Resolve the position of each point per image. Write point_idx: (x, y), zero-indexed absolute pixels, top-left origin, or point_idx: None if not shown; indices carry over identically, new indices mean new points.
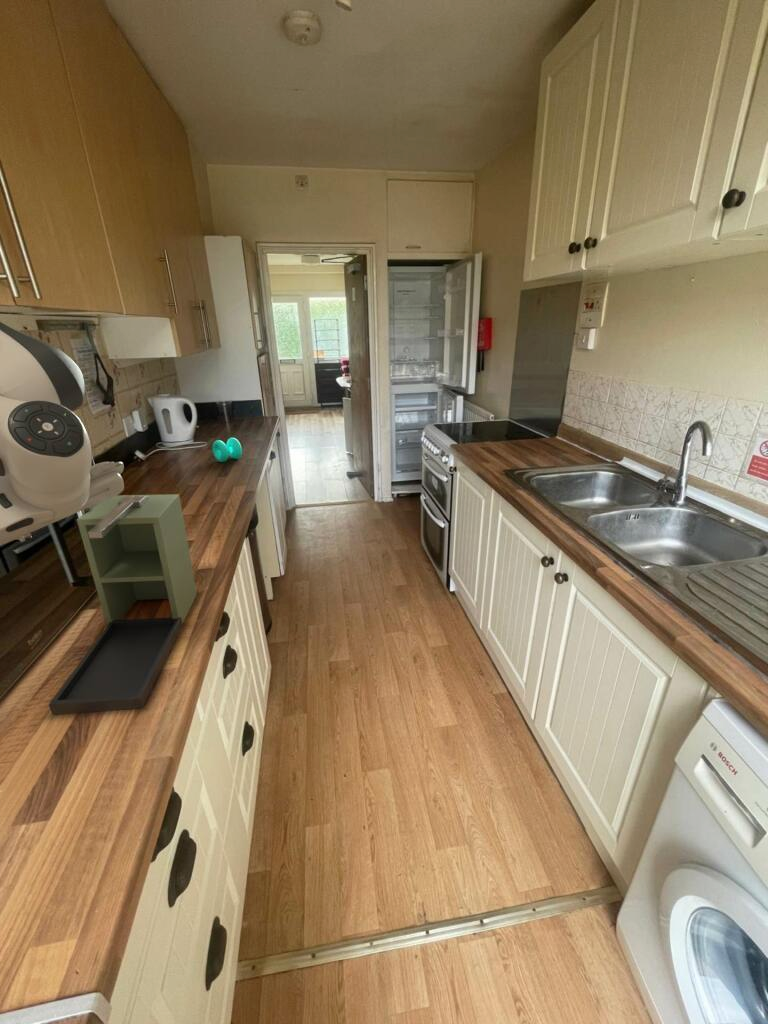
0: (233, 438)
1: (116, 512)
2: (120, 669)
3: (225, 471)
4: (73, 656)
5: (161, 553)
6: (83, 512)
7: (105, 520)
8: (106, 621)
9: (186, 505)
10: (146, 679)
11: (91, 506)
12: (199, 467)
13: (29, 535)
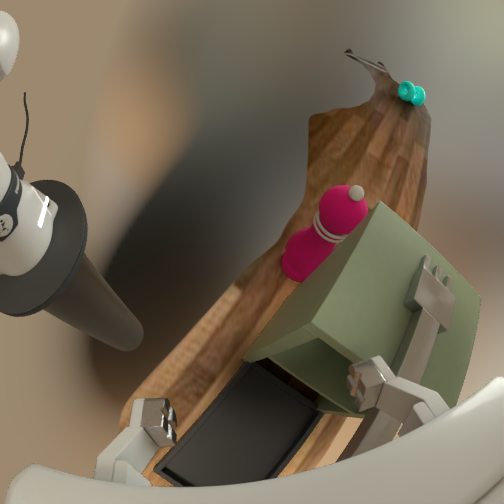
0: (422, 89)
1: None
2: (232, 455)
3: (405, 113)
4: (191, 382)
5: None
6: (351, 392)
7: (377, 434)
8: (244, 358)
9: (372, 138)
10: None
11: (387, 412)
12: (383, 92)
13: (170, 444)
